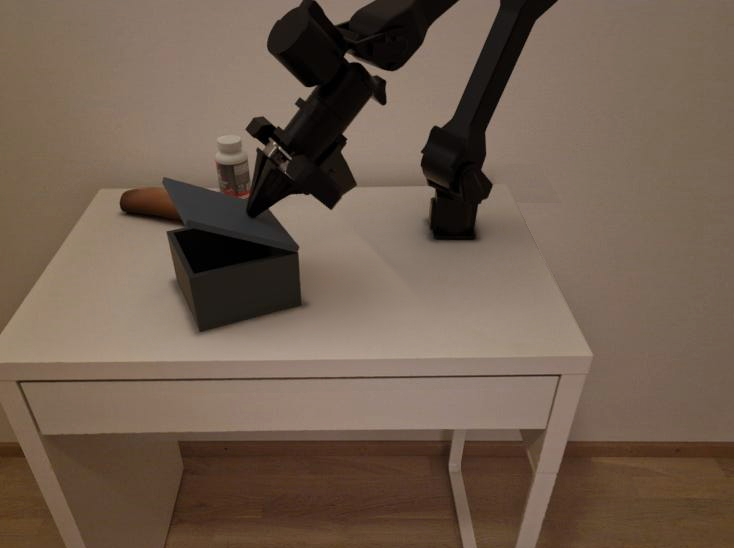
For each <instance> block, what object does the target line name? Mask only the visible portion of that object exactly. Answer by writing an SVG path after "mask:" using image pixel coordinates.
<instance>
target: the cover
mask: <svg viewBox="0 0 734 548" xmlns="http://www.w3.org/2000/svg"><path fill="white" fill-rule="evenodd" d="M161 183H162V185H163V188H165V189H166V191H167V193H168V195H169V197H170V198H171V200H172V202H173V204H174V206H175V208H176V210H177V212H178V213H179V215H180V217H181V219H182V220H181V221H182V222H183V224H184V227H190V228H195V229H199V230H203V231H208V232H212V233H216V234H220V235H225V236H229V237H233V238H238V239H242V240H246V241H250V242H255V243H259V244H263V245H267V246H272V247H276V248H280V249H285V250H289V251H293V252H298V253H299V249H300V245H299V244H298V243H297V242H296V240H295V239H294V238H293V237H292V236H291V234H290V233H289V232H288V230H286V228H285V227H284V226H283V224H282V223H281V222H280V221H279V219H278V218H277V217H276V215H274V213H273V212H272V211H271V209H270V208H268V209H267V210H265V211H264V212H263V213H261V214H260V215H258V216H257V217H255V218H252V217H250V216H249V215H248V214H247V213H246V207H247V203H248V199H247V198H246V199H242V198H238V197H235V196H231V195H228V194H224V193H220V191H216V190H213V189H209V188H206V187H202V186H198V185H194V184H191V183H189V182H184V181H180V180H176V179H173V178H169V177H167V176H163V178H162V182H161Z"/></svg>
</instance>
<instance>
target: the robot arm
mask: <svg viewBox="0 0 734 548" xmlns="http://www.w3.org/2000/svg"><path fill="white" fill-rule="evenodd" d="M558 1H559V0H499V8H498V10H497V13H496V15H495V18H494V20H493V22H492V25H491V27H490V29H489V32H488V34H487V36H486V39H485V41H484V43H483V46H482V48H481V51H480V53H479V55H478V57H477V60H476V62H475V64H474V66H473V70H472V72H471V73H470V76H469V78H468V81H467V83H466V86H465V88H464V89H463V92H462V95H461V97H460V100H459V102H458V105H457V106H456V109H455V111H454V113H453V115H452V117H451V119H450V120H448V121H447V122H446V123H445V124H444V125H442V126H438V125H436V124H434V125H433V126H432V128H431V129H430V131H429V135H428V137H427V141H426V143H425V144H424V146H423V148H422V149H421V150H420V154H422V156H421V159H420V168H421V171H422V174H423V176H424V177H425V180H426V184H427V186H428V187H430V188H433V189H434V197H431V198H430V200H429V201H430V202H429V209H428V221H427V222H428V227H429V230H431V233H432V237H433V239H436V240H437V239H439V240H442V239H446V240H449V239H450V240H474V239H477V233H476V229H475V228H476V221H477V216H478V209H479V205H481V204H482V202H483V201H485V200H487V199H488V198H489V196H490V195H491V192H492V189H493V188H494V184H493V183H492V182H491V180H490V179H489V178H488V176H487V175H486V174H485V172H483V170H482V169H483V167H484V164H485V162H486V161H485V160H486V157H487V139H486V133H487V129H488V127H489V124H490V123H491V120H492V118H493V115H494V113H495V112H496V109H497V107H498V104H499V102H500V100H501V98H502V96H503V94H504V92H505V89H506V87H507V86H508V83H509V81H510V79H511V76H512V73H514V69H515V67H516V65H517V63H518V62H519V61H518V60H519V58H520V57H521V54H522V52H523V49H524V48H525V45H526V44H527V41H528V40H529V37H530V34H531V32H532V31H533V28H534V25H535V24H536V22H537V20H538V19H539V18H541V17H542V16H543V15H544V14H545V13H546V12H547V11H549V9H551V8H552V7H553V6H554V5H555V4H556V3H557V2H558ZM458 2H460V0H373V1H371V2H369V3H367V4H365V5H364V6H362V7H360V8H359V9H357V10H356V11H355V12H354V13H353V14H352V15H351V17H350V19H349V20H346V21H343V22H340V23H337V24H334V23H333V22H332V21H331V19H329V17H328V16H327V15H326V13H325V11H324V9H323V7H322V6H321V5H320V4H319V3H318V2H317V0H302V1H301V2H300V3H299V5H298V6H296V7H293V8H292V9H290V10H289V11H287V12H286V13H285V14H283V16H282V17H281V18H280V19H277V20H276V21H275V23H274V24H273V26H272V28H271V29H270V32H269V34H268V37H267V41H266V48H267V51H268V53H269V54H270V55H271V56H273V57H274V59H275V60H277V62H278V63H279V64H281V65H282V66H283V67H284V68H285V69H286V71H287V72H289V73H290V74H291V75H292V76H293V77H294V78H295V79H296V80H297V81H298V82H299V83H300V84H301V85H302V86H303V87H304V88H313V90H312V91H311V93H310V94H309V95H308V97H306V99H305V100H304V99H303V98H302V97H300V96H299V97H298V98H297V99H296V101H295V102H294V105H295V106H296V107H297V109H298V110H297V111H296V113H294V115H293V116H292V118H291V119H290V120H289V121H288V123H287V125H286V126H285V127H284V129H283V128H282V127H280V126H279V125H277V126H275V125H274V124H273V123H272V122H271V121H269V119H268V118H266V117H265V116H264V115H262V116H261V115H260V116H255V117H253V118H251V120H250V121H249V123H248V124H247V126H246V128H245V129H244V130H245V131H246V132H247V133H248V134H249V135H250V136H251V137H252V138H253V139H256V140H257V141H258V142H260V143H261V144H262V145H263V146H264V148H263V149H261V148H260V147H256V149H255V152H256V157H255V163H254V168H253V174H252V178H251V179H252V180H251V189H250V194H249V197H248V198H247V200H248V203H247V207H246V213H247V214H248V215H249V216H250V217H252V218H255V217H257V216H258V215H260V214H261V213H263V212H264V211H265V210H267V209H268V208H269V209H270V208H272V207H273V206H274V205H276V204H277V203H279V202H280V201H282V200H283V199H285V198H287V197H290V196H291V195H304V196H309V195H310V196H312V197H313V198H314V199H316V200H317V201H318V202H320V203H321V204H322V205H323V206H325V207H326V208H327V209H328V210H330V211H333V210H334V209H335V207H336V206H337V205H338V204H339V202H340V201H341V200H342V198H343V196H344V195H346V194H348V193H349V192H350V191H352V190H353V189H354V188H356V187H357V186H358V183H357V181H356V179H355V177H354V174H353V173H352V170H351V168H350V166H349V164H348V162H347V160H346V159H345V157H344V155H343V153H342V151H343V149H344V148H345V147H346V146H347V144H348V143H347V141H348V138H347V137H346V136H345V135H344V133H345V132H346V131H347V129H348V127H349V126H350V125H351V124H352V123H353V121H354V120H355V119H356V117H357V116H358V115H359V113H360V112H361V111H362V110H363V109H364V107H365V106H366V105H367V104H368V102H369V101H370V100H371V99H372V100H373V101H375V102H376V103H378V104H379V105H381V106H383V107H384V106H386V105H387V103H388V100H387V97H388V96H387V89H386V88H387V80H386V79H384V78H382V77H381V76H380V75H378V74H375V75H372V74H371V73H370V72H369V71H368V70H367V68H366V67H365V66H364V65H363V64H362V63H364V64H366V65H369V66H372V67H375V68H377V69H380V70H382V71H385V72H391V73H394V72H396V71H399V70H400V69H401V68H403V67H404V66H405V65H406V64H407V63H408V62H409V60H411V58H412V57H413V56H414V55H415V54H416V53H417V52H418V51H419V49H420V48H421V47H422V45H423V44H424V42H425V39H426V36H427V33H428V30H429V28H430V27H432V25H433V24H434V23H435V22H436V21H437V20H438V19H439V18H441V17H442V16H443V15H444V14H445V13H446V12H447V11H449V10H450V9H451V8H452V7H453V6H455V5H456V4H457V3H458ZM347 54H348V55H350V56H352V57H353V58H354V59H355V60H357V61H351V62H349V60H348V59H347V58H346V57H345V56H346V55H347Z"/></svg>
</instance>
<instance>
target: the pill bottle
mask: <svg viewBox="0 0 734 548" xmlns="http://www.w3.org/2000/svg"><path fill="white" fill-rule="evenodd" d="M216 147H217V150H218V151H217V152H216V153H215V156H214V159H215V168H216V173H217V181H218V185H219V186H218V188H219V192H220V193H224V194H228V195H231V196H235V197H238V198H242V199H246V200H247V199H248V198H249V194H250V189H251V184H252V182H251V175H250V165H249V156H248V152H247V151H246V150H245V149H243V141H242V138H241V136H239V135H236V134H225V135H221V136H219V137H218V138H216Z"/></svg>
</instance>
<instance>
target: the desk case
mask: <svg viewBox="0 0 734 548" xmlns="http://www.w3.org/2000/svg"><path fill="white" fill-rule="evenodd" d="M165 233H166V237H167V241H168V245H169V246H168V247H169V250H170V255H171V259H172V264H173V269H174V273H175V274H174V275H175V279H176V283H177V284H178V287H179V289H180V291H181V294H182V296H183V298H184V300H185V303H186V305H187V307H188V309H189V311H190V313H191V316H192V318H193V321H194V323H195V325H196V327H197V330H198V331H199V332H200V333H201V332H205V331H209V330H213V329H216V328H221V327H225V326H227V325H228V326H229V325H232V324H236V323H239V322H244V321H248V320H251V319H254V318H260V317H263V316H266V315H270V314H275V313H278V312H281V311H285V310H289V309H293V308H297V307H300V306H301V307H302V305H303V303H302V302H303V301H302V287H301V270H300V254H299V251H298V252H293V251H289V250H285V249H280V248H276V247H272V246H267V245H263V244H259V243H255V242H250V241H246V240H242V239H238V238H233V237H229V236H225V235H220V234H216V233H212V232H208V231H203V230H199V229H195V228H190V227H186V226H184V227H180V228H176V229H171V230H167V231H165Z"/></svg>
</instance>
